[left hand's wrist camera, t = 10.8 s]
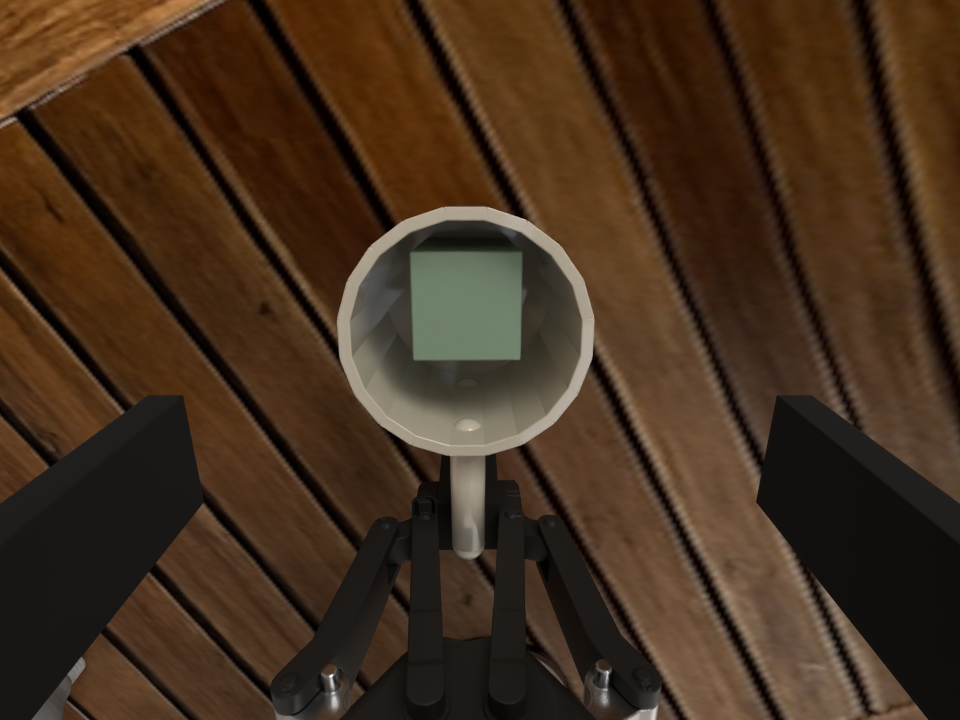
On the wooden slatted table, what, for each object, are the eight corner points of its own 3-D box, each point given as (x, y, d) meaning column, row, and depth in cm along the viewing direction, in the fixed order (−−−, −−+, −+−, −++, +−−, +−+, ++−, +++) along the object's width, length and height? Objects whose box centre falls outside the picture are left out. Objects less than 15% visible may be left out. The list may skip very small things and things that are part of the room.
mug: (376, 204, 31) (328, 206, 21) (557, 204, 31) (600, 206, 21) (390, 472, 36) (355, 587, 25) (548, 471, 36) (580, 585, 25)
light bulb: (109, 640, 53) (30, 747, 43) (104, 686, 55) (28, 797, 45) (41, 627, 52) (-54, 732, 43) (39, 674, 54) (-52, 784, 45)
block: (508, 237, 31) (522, 251, 22) (507, 318, 32) (520, 360, 24) (426, 237, 31) (409, 251, 22) (428, 318, 32) (412, 361, 24)
